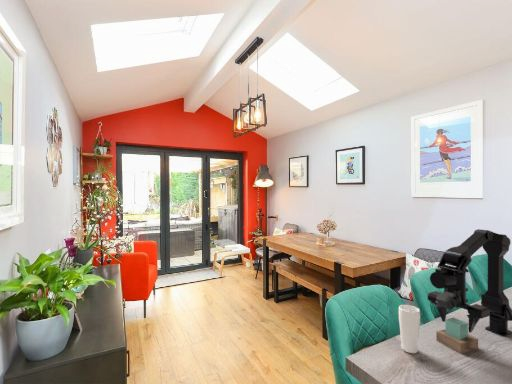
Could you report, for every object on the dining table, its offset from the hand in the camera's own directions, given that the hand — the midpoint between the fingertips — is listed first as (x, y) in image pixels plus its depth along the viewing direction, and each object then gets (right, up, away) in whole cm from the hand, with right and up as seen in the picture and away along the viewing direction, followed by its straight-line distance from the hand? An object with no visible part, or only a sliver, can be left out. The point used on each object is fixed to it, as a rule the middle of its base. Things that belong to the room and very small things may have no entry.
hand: (456, 326), depth 102 cm
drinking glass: (-19, -7, -3) cm, 21 cm away
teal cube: (0, -3, 0) cm, 3 cm away
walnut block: (0, -7, 0) cm, 7 cm away
